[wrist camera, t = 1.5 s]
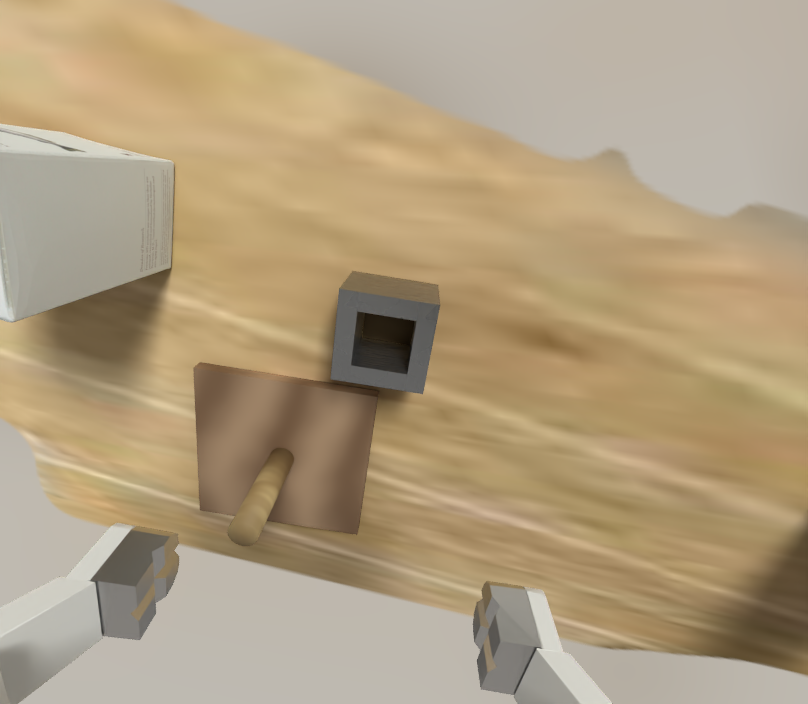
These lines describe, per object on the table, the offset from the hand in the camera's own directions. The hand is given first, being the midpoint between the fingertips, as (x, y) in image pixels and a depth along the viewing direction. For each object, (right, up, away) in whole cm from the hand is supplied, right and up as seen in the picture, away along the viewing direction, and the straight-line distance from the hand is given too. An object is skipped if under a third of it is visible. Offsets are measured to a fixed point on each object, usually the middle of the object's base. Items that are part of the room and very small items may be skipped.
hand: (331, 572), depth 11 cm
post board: (-8, -2, +24) cm, 26 cm away
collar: (+1, +8, +19) cm, 21 cm away
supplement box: (-17, +16, +17) cm, 29 cm away
